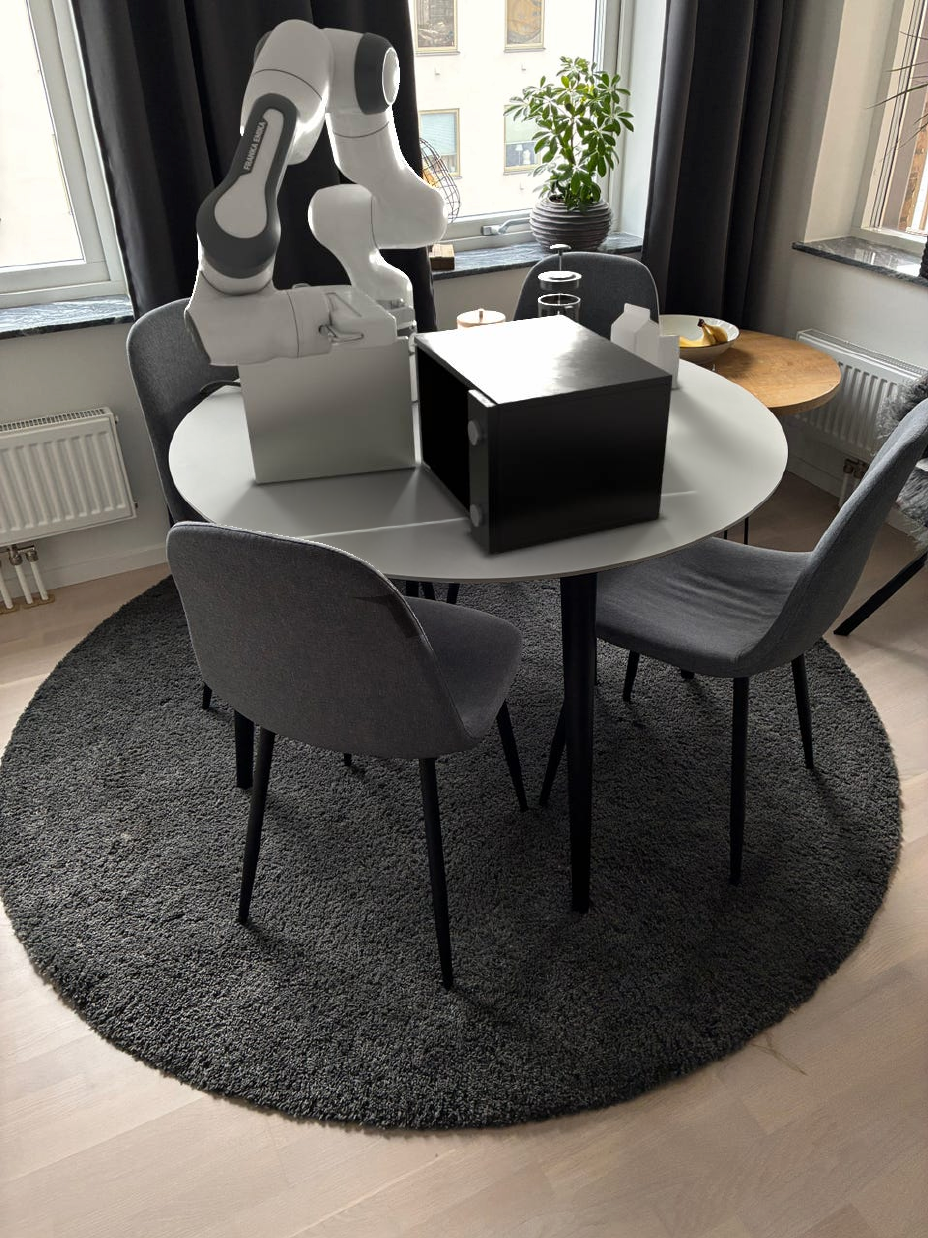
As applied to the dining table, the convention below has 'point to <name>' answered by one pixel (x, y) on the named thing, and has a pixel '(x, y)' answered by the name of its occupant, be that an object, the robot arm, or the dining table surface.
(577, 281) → the french press
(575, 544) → the dining table surface
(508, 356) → the microwave
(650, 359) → the milk
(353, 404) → the microwave door
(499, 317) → the trinket box
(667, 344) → the white small box
